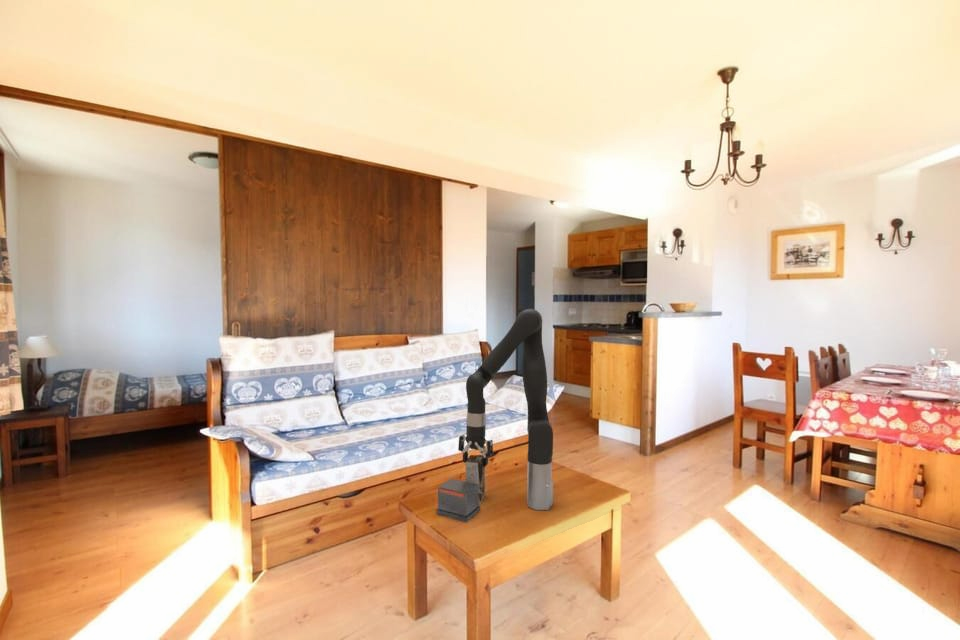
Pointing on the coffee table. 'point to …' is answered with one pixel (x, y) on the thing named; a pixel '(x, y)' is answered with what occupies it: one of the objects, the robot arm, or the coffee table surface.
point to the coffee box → (476, 473)
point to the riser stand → (458, 499)
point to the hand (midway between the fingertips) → (475, 464)
